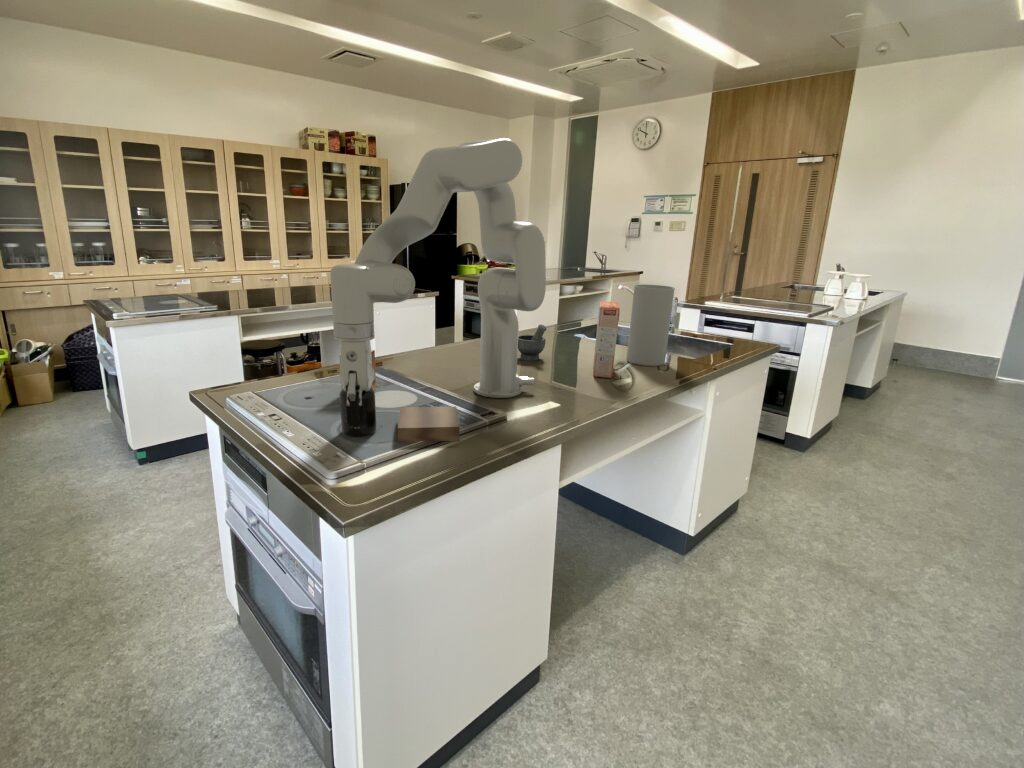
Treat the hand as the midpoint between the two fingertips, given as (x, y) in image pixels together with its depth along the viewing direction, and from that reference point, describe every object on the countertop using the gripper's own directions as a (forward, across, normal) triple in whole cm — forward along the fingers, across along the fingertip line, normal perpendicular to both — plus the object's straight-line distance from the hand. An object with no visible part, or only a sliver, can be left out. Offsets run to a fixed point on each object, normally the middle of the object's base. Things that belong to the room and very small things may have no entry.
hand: (358, 416), depth 104 cm
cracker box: (+4, +44, -67) cm, 80 cm away
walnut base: (+3, 0, -14) cm, 14 cm away
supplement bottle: (+3, 0, 0) cm, 3 cm away
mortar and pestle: (+3, +61, -48) cm, 78 cm away
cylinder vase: (+3, +56, -86) cm, 103 cm away
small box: (+4, +26, +3) cm, 26 cm away
